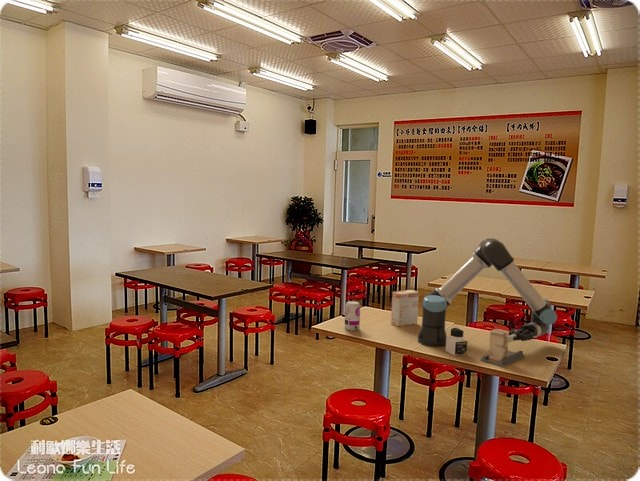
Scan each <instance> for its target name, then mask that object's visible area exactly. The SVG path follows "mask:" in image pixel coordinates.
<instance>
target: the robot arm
mask: <svg viewBox="0 0 640 481" xmlns="http://www.w3.org/2000/svg"><path fill="white" fill-rule="evenodd" d="M471 256H472V257H470V258H469V260H467V261H466V262H465V263H464V264H463V265H462V266H461V267H460V268H459V269H458V270H457V271H456V272H455V273H454V274H452V276H451V277H450V278H448V279H447V280H446V281H445V282H444V284H442V285H441V286H440V287H435V288H434V289H433V290H432V291H430V292H429V293H427V294H426V295H424V297H423V299H422V302H421V306H422V315H421V316H422V317H421V318H422V320H421V328H420V330H419V333H418V335H417V342H418V343H419V342H420V344H421V343H422V345H424V344H425V345H424V346H428V345H429V347H444V346H445V347H446V338H447V337H448V335H447V332H446V316H447V315H446V314H447V308H449V306H450V305H452V301H453V300H452V299H453V298H455V297H456V296H457V295H458V294H459V293H460V292H461V291H462V290H463V289H464V288H465V287H466V286H468V285H469V283H471V282H472V281H473V280H474V279H475V278H476V277H477V276H478V275H479V274H480V273H481V272H483V270H484V269H491V267H492V266H493V267H494V268H495V270H496V271H497V272H501V274H503V275H504V277H505V278H506V280H507V281H508V282H509V284H511V286H512V287H513V288H514V289H515V291H516V293H518V294H519V295H520V297H521V298H522V299H523V301H524V302H525V303H526V304H527V305H528V306H529V308H530V309H531V319H530V323H527V324H524V325H522V326H521V327H520V328H518V329H515V328H512V327H511V330H510V331H509V340H508V344H509V343H512V342H515V341H522V342H526V341H531V340H537V337H540V336H543V335H546V334H547V333H548V332H549V330H550V325H553V324H555V323H556V322H557V320H558V315H557V313H556V311H555V310H554V309H552V307H551V306H550V304H549V300H548V298H544V297H543V296H542V295H541V294H540V293H539V291H538V290H537V289H536V287H534V285H532V283H531V282H530V281H529V279H528V278H527V277H526V276H525V274H524V273H523V272H522V271H521V269H520V268H519V267H518V266H517V265H516V263H515V258H514V257H513V256H512V255H511V253H510V251H508V249H507V247H506V245H504V243H503V242H501V241H500V240H498V239H495V238H486V239H483V240H482V241H480V244H479V245H478V247H477V248H476V249H475V250H473V251H472V255H471Z"/></svg>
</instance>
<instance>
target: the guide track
mask: <svg viewBox="0 0 640 481" xmlns="http://www.w3.org/2000/svg"><path fill="white" fill-rule="evenodd" d="M523 353H524V351H522V350H518V351H517V352H516V351H515V352H514V351H511V350H508V353H507V357H506V358H503V359H501V360H499V361H497V360H493V359H490V358H489V352H488V353H487V354H484V355H482V357H480V361H481V362H485V363H488V364H492V365H493V366H494V365H495V366H499V367H502V368H505V367H506V366H509V365H511V364H513V363H515V362H517V361H519V360H521V359H523V358H525V357H526V355H525V354H523Z"/></svg>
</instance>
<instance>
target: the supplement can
mask: <svg viewBox="0 0 640 481" xmlns="http://www.w3.org/2000/svg"><path fill="white" fill-rule="evenodd" d="M344 308H345V309H344V310H345V311H344V329H345V330H348V331H351V330H352V331H354V332H355V331H358V330H359V329H360V321H361V320H360V319H361V318H360V317H361V304H360V302H358V301H354V300H353V301H352V300H350V301H346V303H345V307H344Z"/></svg>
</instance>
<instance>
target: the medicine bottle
mask: <svg viewBox="0 0 640 481" xmlns="http://www.w3.org/2000/svg"><path fill="white" fill-rule="evenodd" d="M464 331H465V330H464V329H462V328H460V327H453V328H451V329H450V336H447V338H446V345H445V352H446V353H448V354H451V355H453V356H454V357H457V356H464V355H467V352H468V351H467V349H468V348H467V347H468V339H465V338H464V337H465V336H464V335H465V334H464Z"/></svg>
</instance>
